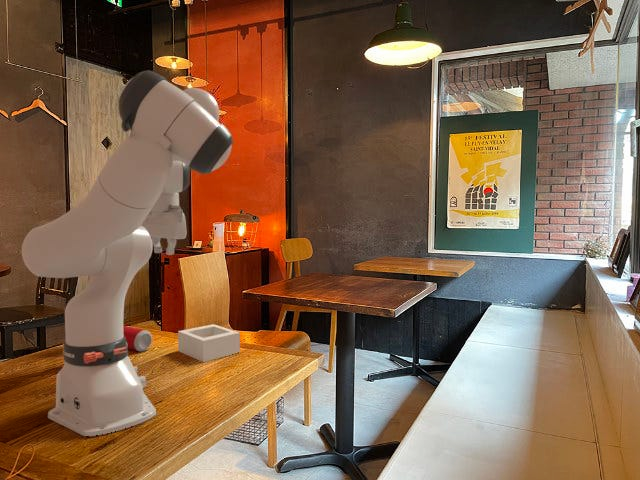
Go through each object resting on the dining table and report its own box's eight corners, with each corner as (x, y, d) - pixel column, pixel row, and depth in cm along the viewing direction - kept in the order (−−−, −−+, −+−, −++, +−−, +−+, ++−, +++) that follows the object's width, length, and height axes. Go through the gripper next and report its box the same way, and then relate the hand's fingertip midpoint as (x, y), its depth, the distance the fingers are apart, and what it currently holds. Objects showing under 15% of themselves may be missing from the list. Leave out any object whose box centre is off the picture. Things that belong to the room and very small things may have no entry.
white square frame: (239, 352, 137) (239, 332, 136) (203, 362, 128) (203, 340, 128) (213, 343, 146) (213, 324, 146) (178, 351, 138) (178, 331, 138)
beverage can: (156, 334, 141) (131, 329, 147) (142, 327, 136) (116, 322, 143) (147, 354, 138) (122, 348, 145) (132, 348, 134) (106, 341, 140)
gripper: (191, 205, 128) (192, 255, 129) (156, 205, 143) (158, 250, 144) (170, 205, 124) (171, 257, 125) (136, 205, 138) (137, 252, 139)
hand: (164, 253), depth 134 cm, fingers open, 6 cm apart
